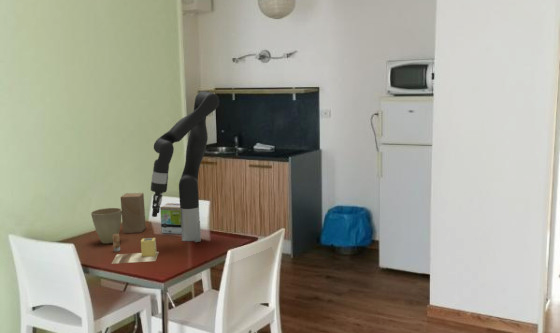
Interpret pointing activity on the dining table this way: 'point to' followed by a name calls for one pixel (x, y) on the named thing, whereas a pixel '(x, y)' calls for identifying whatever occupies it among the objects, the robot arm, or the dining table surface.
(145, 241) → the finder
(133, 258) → the panel
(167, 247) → the dining table surface
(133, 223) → the wooden block
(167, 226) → the tea box
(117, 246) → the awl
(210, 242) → the dining table surface
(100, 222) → the plant pot
